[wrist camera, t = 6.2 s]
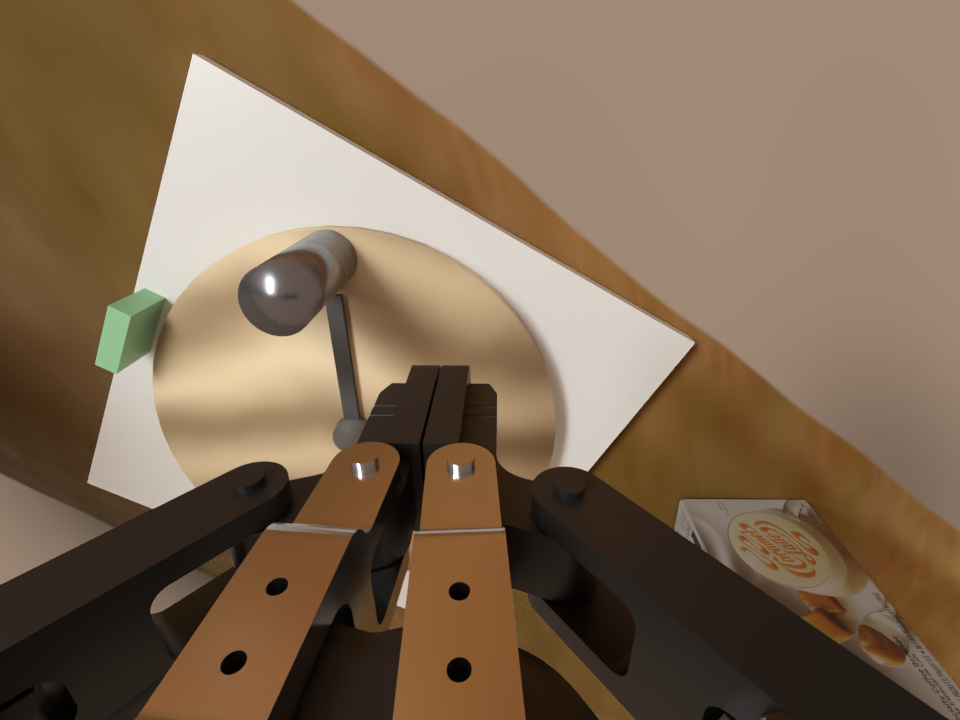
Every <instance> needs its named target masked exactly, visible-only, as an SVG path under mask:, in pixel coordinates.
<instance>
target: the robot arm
mask: <svg viewBox="0 0 960 720" xmlns="http://www.w3.org/2000/svg"><path fill="white" fill-rule="evenodd" d="M374 405H375V406H374V407H373V409H372V411H371V413H370V416H369V418H368V420H367V422H366V424H365V427H364V429H363V431H362V433H361V435H360V438H359V440H358V442H357V444H355V445H352V446H350V447H347V448H345V449H344V450H342V451H341V452H339V453H338V454H337V455H336V456H335V457H334V458H333V460H332V461H331V463H330V464H329V466H328V468H327V469H326V471H325V472H324V473H322V474H318V475H313V476H308V477H303V478H298V479H293V480H289V475H288V472H287V470H286V468H285V467H284V466H282V465H281V464H278V463H275V462H269V461H261V462H253V463H249V464H245V465H242V466H239V467H237V468H235V469H232V470H230V471H228V472H226V473H224V474H222V475H220V476H218V477H216V478H214V479H212V480H210V481H208V482H206V483H204V484H202V485H200V486H198V487H196V488H194V489H192V490H190V491H188V492H186V493H184V494H182V495H180V496H178V497H176V498H174V499H172V500H170V501H168V502H166V503H164V504H162V505H160V506H158V507H156V508H154V509H152V510H150V511H148V512H146V513H144V514H142V515H140V516H138V517H136V518H134V519H132V520H130V521H128V522H126V523H124V524H122V525H120V526H118V527H116V528H114V529H112V530H110V531H108V532H106V533H104V534H102V535H100V536H98V537H96V538H94V539H92V540H90V541H88V542H86V543H84V544H82V545H80V546H78V547H76V548H74V549H72V550H70V551H68V552H66V553H64V554H62V555H60V556H58V557H56V558H54V559H52V560H50V561H48V562H46V563H44V564H42V565H40V566H38V567H36V568H34V569H32V570H29V571H27V572H26V573H23V574H21V575H20V576H17V577H15V578H13V579H11V580H10V581H7V582H6V583H3V584H1V585H0V720H599V719H598V718H597V717H596V715H595V714H594V713H593V712H592V710H591V709H590V708H589V707H588V705H587V704H586V703H585V702H584V701H583V699H582V698H581V697H580V696H579V694H578V693H577V692H576V691H575V690H574V688H573V687H572V686H571V685H570V684H569V683H568V682H567V681H566V680H565V679H564V678H563V677H562V676H561V675H560V674H559V673H558V672H557V671H556V670H554V669H553V668H552V667H550V666H549V665H548V664H546V663H545V662H544V661H542V660H541V659H539V658H537V657H536V656H534V655H532V654H531V653H529V652H527V651H525V650H523V649H520V648H518V644H517V635H516V626H515V616H514V607H513V598H512V588H514V589H517V590H520V591H523V592H526V593H528V599H529V602H530V604H531V605H532V607H533V608H534V610H535V611H536V612H537V613H538V614H539V615H540V616H541V617H542V619H543V620H544V621H545V622H546V623H547V624H548V625H549V626H550V627H551V628H552V629H553V630H554V631H555V633H556V634H557V635H558V636H559V637H560V638H561V639H562V640H563V641H564V642H565V643H566V644H567V646H568V647H569V648H570V649H571V650H572V651H573V652H574V653H575V654H576V655H577V656H578V657H579V659H580V660H581V661H582V662H583V663H584V664H585V665H586V666H587V667H588V668H589V669H590V670H591V672H592V673H593V674H594V675H595V676H596V677H597V678H598V679H599V680H600V681H601V682H602V683H603V685H604V686H605V687H606V688H607V689H608V690H609V691H610V692H611V693H612V694H613V695H614V696H615V697H616V699H617V700H618V701H619V702H620V703H621V704H622V705H623V706H624V707H625V708H626V709H627V710H628V712H629V713H630V714H631V715H632V716H633V717H634V718H635V719H636V720H949V719H948V718H946V717H945V716H943V715H942V714H940V713H939V712H937V711H936V710H935V709H933V708H932V707H930V706H929V705H927V704H926V703H924V702H923V701H921V700H920V699H919V698H917V697H916V696H914V695H913V694H911V693H910V692H908V691H907V690H905V689H904V688H903V687H901V686H900V685H898V684H897V683H895V682H894V681H892V680H891V679H890V678H888V677H887V676H885V675H884V674H882V673H881V672H879V671H878V670H876V669H875V668H874V667H872V666H871V665H869V664H868V663H866V662H865V661H863V660H862V659H860V658H859V657H858V656H856V655H855V654H853V653H852V652H850V651H849V650H847V649H846V648H844V647H843V646H842V645H840V644H839V643H837V642H836V641H834V640H833V639H831V638H830V637H829V636H827V635H826V634H824V633H823V632H821V631H820V630H818V629H817V628H815V627H814V626H813V625H811V624H810V623H808V622H807V621H805V620H804V619H802V618H801V617H799V616H798V615H797V614H795V613H794V612H792V611H791V610H789V609H788V608H786V607H785V606H783V605H782V604H781V603H779V602H778V601H776V600H775V599H773V598H772V597H770V596H769V595H768V594H766V593H765V592H763V591H762V590H760V589H759V588H757V587H756V586H754V585H753V584H752V583H750V582H749V581H747V580H746V579H744V578H743V577H741V576H740V575H738V574H737V573H736V572H734V571H733V570H731V569H730V568H728V567H727V566H725V565H724V564H722V563H721V562H720V561H718V560H717V559H715V558H714V557H712V556H711V555H709V554H708V553H707V552H705V551H704V550H702V549H701V548H699V547H698V546H696V545H695V544H693V543H692V542H691V541H689V540H688V539H686V538H685V537H683V536H682V535H680V534H679V533H677V532H676V531H675V530H673V529H672V528H670V527H669V526H667V525H666V524H664V523H663V522H662V521H660V520H659V519H657V518H656V517H654V516H653V515H651V514H650V513H648V512H647V511H646V510H644V509H643V508H641V507H640V506H638V505H637V504H635V503H634V502H632V501H631V500H630V499H628V498H627V497H625V496H624V495H622V494H621V493H619V492H618V491H616V490H615V489H614V488H612V487H611V486H609V485H608V484H606V483H605V482H603V481H602V480H601V479H599V478H598V477H596V476H595V475H593V474H591V473H590V472H587V471H585V470H582V469H579V468H574V467H554V468H550V469H547V470H545V471H543V472H541V473H540V474H538V475H537V476H536V478H535V479H534V480H529V479H525V478H522V477H518V476H516V475H514V474H512V473H510V472H508V471H507V470H506V469H504V468H503V467H502V466H501V465H500V463H499V462H498V460H497V393H496V392H495V390H494V389H493V388H492V387H491V385H490V384H473V383H471V374H470V365H442V367H441V366H440V365H412V367H411V370H410V372H409V375H408V378H407V380H406V383H391V384H390V385H389V386H388V387H386V388H385V389H384V390H383V391H381V392H380V393H379V395H378V398H377V400H376V402H375V404H374ZM413 531H415V533H414V538H413V546H412V554H411V563H410V572H409V581H408V589H407V598H406V607H405V615H404V624H403V627H401V628H396V629H392V630H389V628H390V624H391V621H392V618H393V615H394V611H395V608H396V605H397V601H398V598H399V595H400V592H401V588H402V585H403V582H404V578H405V575H406V572H407V568H408V565H409V561H410V551H409V546H410V543H411V539H412V534H413ZM227 549H228V552H229V555H230V558H231V561H232V564H233V567H232V568H230V569H229V570H227V571H226V572H224V573H222V574H221V575H219V576H218V577H216V578H214V579H213V580H211V581H210V582H208V583H207V584H205V585H203V586H202V587H200V588H199V589H197V590H196V591H194V592H193V593H191V594H189V595H188V596H186V597H185V598H183V599H181V600H180V601H178V602H177V603H175V604H173V605H172V606H170V607H169V608H167V609H165V610H164V611H162V612H159V613H155V614H150V608H151V605H152V602H153V600H154V599H155V597H156V596H157V594H159V592H160V591H161V590H163V589H164V588H165V587H166V586H168V585H170V584H171V583H173V582H175V581H176V580H178V579H179V578H181V577H183V576H184V575H186V574H188V573H189V572H191V571H192V570H194V569H196V568H198V567H199V566H201V565H203V564H204V563H206V562H208V561H209V560H211V559H213V558H214V557H216V556H218V555H219V554H221V553H222V552H224V551H226V550H227Z"/></svg>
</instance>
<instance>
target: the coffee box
mask: <svg viewBox="0 0 960 720" xmlns="http://www.w3.org/2000/svg"><path fill="white" fill-rule="evenodd" d="M674 530H675V531H676V532H677V533H679V534H680V535H682V536H683V537H685V538H686V539H688V540H689V541H691V542H692V543H693V544H695V545H696V546H698V547H699V548H701V549H702V550H704V551H705V552H707V553H708V554H709V555H711V556H712V557H714V558H715V559H717V560H718V561H720V562H721V563H722V564H724V565H725V566H727V567H728V568H730V569H731V570H733V571H734V572H736V573H737V574H738V575H740V576H741V577H743V578H744V579H746V580H747V581H749V582H750V583H752V584H753V585H754V586H756V587H757V588H759V589H760V590H762V591H763V592H765V593H766V594H768V595H769V596H770V597H772V598H773V599H775V600H776V601H778V602H779V603H781V604H782V605H783V606H785V607H786V608H788V609H789V610H791V611H792V612H794V613H795V614H797V615H798V616H799V617H801V618H802V619H804V620H805V621H807V622H808V623H810V624H811V625H813V626H814V627H815V628H817V629H818V630H820V631H821V632H823V633H824V634H826V635H827V636H829V637H830V638H831V639H833V640H834V641H836V642H837V643H839V644H840V645H842V646H843V647H844V648H846V649H847V650H849V651H850V652H852V653H853V654H855V655H856V656H858V657H859V658H860V659H862V660H863V661H865V662H866V663H868V664H869V665H871V666H872V667H874V668H875V669H876V670H878V671H879V672H881V673H882V674H884V675H885V676H887V677H888V678H890V679H891V680H892V681H894V682H895V683H897V684H898V685H900V686H901V687H903V688H904V689H905V690H907V691H908V692H910V693H911V694H913V695H914V696H916V697H917V698H919V699H920V700H921V701H923V702H924V703H926V704H927V705H929V706H930V707H932V708H933V709H935V710H936V711H937V712H939V713H940V714H942V715H943V716H945V717H946V718H948V719H949V720H960V688H959V686H958V685H957V684H956V683H955V681H954V680H953V679H952V678H951V677H950V675H949V674H948V673H947V672H946V671H945V669H944V668H943V667H942V666H941V665H940V663H939V662H938V661H937V660H936V659H935V657H934V656H933V655H932V654H931V652H930V651H929V650H928V649H927V647H926V646H925V645H924V644H923V643H922V642H921V640H920V639H919V638H918V637H917V635H916V634H915V633H914V632H913V630H912V629H911V628H910V627H909V625H908V624H907V623H906V622H905V621H904V619H903V618H902V617H901V616H900V614H899V613H898V612H897V611H896V609H895V608H894V607H893V606H892V605H891V604H890V602H889V601H888V600H887V598H886V597H885V596H884V595H883V594H882V593H881V591H880V590H879V589H878V588H877V586H876V585H875V584H874V583H873V581H872V580H871V579H870V578H869V577H868V575H867V574H866V573H865V572H864V570H863V569H862V568H861V567H860V566H859V564H858V563H857V562H856V561H855V560H854V558H853V557H852V556H851V555H850V553H849V552H848V551H847V550H846V548H845V547H844V546H843V545H842V544H841V542H840V541H839V540H838V539H837V538H836V536H835V535H834V534H833V533H832V532H831V530H830V529H829V528H828V527H827V526H826V524H825V523H824V522H823V521H822V519H821V518H820V517H819V516H818V514H817V513H816V512H815V511H814V510H813V508H812V507H811V506H810V505H809V504H808V502H807V501H806V500H768V499H681V500H680V502H679V507H678V512H677V517H676V523H675V528H674Z"/></svg>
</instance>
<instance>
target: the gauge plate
mask: <svg viewBox="0 0 960 720" xmlns="http://www.w3.org/2000/svg"><path fill="white" fill-rule="evenodd" d="M318 226H348V227H362V228H368V229H373V230H378V231H383V232H389V233H393V234H396V235H399V236H402V237H405V238H408V239H411V240H414V241H417V242H420V243H423V244H425V245H427V246H429V247H431V248H433V249H435V250H438V251H440V252H442V253H444V254H446V255H448V256H450V257H451V258H453V259H454V260H456V261H458V262H459V263H461V264H462V265H464V266H465V267H467V268H469V269H470V270H472V271H473V272H475V273H476V274H477V275H478V276H479V277H481V278H482V279H483V280H484V281H485V282H487V283H488V284H489V285H490V286H491V287H493V288H494V289H495V290H496V291H497V292H498V293H499V294H500V295H501V296H502V297H503V298H504V300H505V301H506V302H507V303H508V304H509V305H510V306H511V307H512V308H513V309H514V310H515V312H516V313H517V315H518V316H519V317H520V319H521V320H522V322H523V323H524V325H525V326H526V327H527V329H528V330H529V332H530V333H531V335H532V337H533V339H534V341H535V343H536V345H537V347H538V349H539V351H540V353H541V355H542V357H543V360H544V363H545V366H546V369H547V372H548V375H549V378H550V383H551V389H552V394H553V400H554V406H555V424H556V434H555V441H554V448H553V455H552V458H551V461H550V464H549V468H548V469H550V468H554V467H574V468H579V469H582V470H585V471H587V472H588V471H589V470H590V468H591V467H592V466H593V465H594V464H595V462H596V461H597V460H598V459H599V458H600V456H601V455H602V454H603V453H604V452H605V450H606V449H607V448H608V447H609V446H610V444H611V443H612V442H613V441H614V440H615V438H616V437H617V436H618V435H619V434H620V432H621V431H622V430H623V429H624V428H625V426H626V425H627V424H628V423H629V422H630V420H631V419H632V418H633V417H634V416H635V414H636V413H637V412H638V411H639V410H640V408H641V407H642V406H643V405H644V404H645V402H646V401H647V400H648V399H649V398H650V396H651V395H652V394H653V393H654V392H655V391H656V389H657V388H658V387H659V386H660V385H661V383H662V382H663V381H664V380H665V379H666V377H667V376H668V375H669V374H670V373H671V371H672V370H673V369H674V368H675V367H676V365H677V364H678V363H679V362H680V361H681V359H682V358H683V357H684V356H685V355H686V353H687V352H688V351H689V350H690V349H691V347H692V346H693V345H694V344H695V342H694V341H693V340H692V339H691V338H690V336H688V335H686V334H685V333H683V332H681V331H680V330H678V329H676V328H674V327H673V326H671V325H669V324H667V323H666V322H664V321H662V320H660V319H659V318H657V317H655V316H654V315H652V314H650V313H648V312H647V311H645V310H643V309H641V308H640V307H638V306H636V305H635V304H633V303H631V302H629V301H628V300H626V299H624V298H622V297H621V296H619V295H617V294H615V293H614V292H612V291H610V290H609V289H607V288H605V287H603V286H602V285H600V284H598V283H596V282H595V281H593V280H591V279H590V278H588V277H586V276H584V275H583V274H581V273H579V272H577V271H576V270H574V269H572V268H570V267H569V266H567V265H565V264H564V263H562V262H560V261H558V260H557V259H555V258H553V257H551V256H550V255H548V254H546V253H545V252H543V251H541V250H539V249H538V248H536V247H534V246H532V245H531V244H529V243H527V242H525V241H524V240H522V239H520V238H519V237H517V236H515V235H513V234H512V233H510V232H508V231H506V230H505V229H503V228H501V227H500V226H498V225H496V224H494V223H493V222H491V221H489V220H487V219H486V218H484V217H482V216H480V215H479V214H477V213H475V212H474V211H472V210H470V209H468V208H467V207H465V206H463V205H461V204H460V203H458V202H456V201H455V200H453V199H451V198H449V197H448V196H446V195H444V194H442V193H441V192H439V191H437V190H435V189H434V188H432V187H430V186H429V185H427V184H425V183H423V182H422V181H420V180H418V179H416V178H415V177H413V176H411V175H410V174H408V173H406V172H404V171H403V170H401V169H399V168H397V167H396V166H394V165H392V164H390V163H389V162H387V161H385V160H384V159H382V158H380V157H378V156H377V155H375V154H373V153H371V152H370V151H368V150H366V149H365V148H363V147H361V146H359V145H358V144H356V143H354V142H352V141H351V140H349V139H347V138H345V137H344V136H342V135H340V134H339V133H337V132H335V131H333V130H332V129H330V128H328V127H326V126H325V125H323V124H321V123H320V122H318V121H316V120H314V119H313V118H311V117H309V116H307V115H306V114H304V113H302V112H300V111H299V110H297V109H295V108H294V107H292V106H290V105H288V104H287V103H285V102H283V101H281V100H280V99H278V98H276V97H275V96H273V95H271V94H269V93H268V92H266V91H264V90H262V89H261V88H259V87H257V86H255V85H254V84H252V83H250V82H249V81H247V80H245V79H243V78H242V77H240V76H238V75H236V74H235V73H233V72H231V71H230V70H228V69H226V68H224V67H223V66H221V65H219V64H217V63H216V62H214V61H212V60H210V59H209V58H207V57H205V56H202V55H197V54H193V55H192V60H191V64H190V68H189V72H188V76H187V80H186V84H185V88H184V92H183V96H182V100H181V104H180V108H179V112H178V116H177V120H176V124H175V128H174V133H173V137H172V141H171V145H170V149H169V153H168V157H167V161H166V165H165V169H164V173H163V177H162V181H161V185H160V189H159V193H158V197H157V202H156V206H155V210H154V214H153V218H152V222H151V226H150V230H149V234H148V238H147V242H146V246H145V250H144V254H143V258H142V262H141V266H140V270H139V275H138V279H137V283H136V287H135V291H134V293H133V294H131V295H129V296H127V297H125V298H123V299H121V300H119V301H117V302H115V303H113V304H110V305H108V308H107V312H106V317H105V321H104V326H103V330H102V335H101V339H100V344H99V348H98V353H97V357H96V361H95V365H97V366H99V367H102V368H104V369H106V370H108V371H111V372H113V373H114V376H113V380H112V384H111V388H110V392H109V396H108V400H107V404H106V408H105V412H104V417H103V421H102V425H101V429H100V433H99V437H98V441H97V445H96V449H95V453H94V457H93V461H92V465H91V469H90V473H89V477H88V481H87V483H88V484H91V485H94V486H96V487H99V488H101V489H104V490H106V491H109V492H111V493H114V494H116V495H119V496H121V497H124V498H126V499H129V500H131V501H134V502H137V503H139V504H142V505H144V506H147V507H149V508H152V509H154V508H156V507H158V506H160V505H162V504H164V503H166V502H168V501H170V500H172V499H174V498H176V497H178V496H180V495H182V494H184V493H186V492H188V491H190V490H192V489H194V488H195V486H194V485H193V484H192V483H191V481H190V480H189V479H188V477H187V476H186V475H185V473H184V472H183V471H182V469H181V467H180V466H179V464H178V462H177V461H176V459H175V457H174V456H173V454H172V452H171V450H170V448H169V446H168V444H167V441H166V439H165V437H164V434H163V432H162V430H161V426H160V423H159V419H158V415H157V412H156V408H155V401H154V393H153V386H152V385H153V361H154V355H155V350H156V345H157V340H158V337H159V335H160V332H161V329H162V327H163V324H164V322H165V319H166V317H167V315H168V314H169V312H170V310H171V309H172V307H173V305H174V304H175V302H176V300H177V299H178V297H179V296H180V295H181V294H182V292H183V291H184V290H185V289H186V288H187V287H188V285H189V284H190V283H191V282H192V281H193V280H194V279H195V278H196V277H197V276H198V275H199V274H201V273H202V272H203V271H204V270H206V269H207V268H208V267H209V266H210V265H212V264H213V263H214V262H216V261H217V260H219V259H221V258H222V257H224V256H226V255H228V254H229V253H231V252H233V251H235V250H236V249H238V248H240V247H242V246H244V245H246V244H248V243H251V242H254V241H256V240H259V239H261V238H264V237H267V236H269V235H272V234H276V233H280V232H285V231H289V230H294V229H298V228H305V227H318ZM409 572H410V570H409V571H407V572H406V575H405V578H404V582H403V585H402V588H401V592H400V595H399V598H398V601H397V606H400V607H402V608H405V607H406V598H407V589H408V581H409Z"/></svg>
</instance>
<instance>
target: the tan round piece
mask: <svg viewBox="0 0 960 720" xmlns="http://www.w3.org/2000/svg"><path fill="white" fill-rule="evenodd" d="M412 365H440V366H441V367H442V365H470V374H471V383H473V384H490V385H491V387H492V388H493V389H494V390H495V392H496V393H497V460H498V462H499V463H500V465H501V466H502V467H503V468H504V469H506V470H507V471H508V472H510V473H512V474H514V475H516V476H518V477H522V478H525V479H529V480H534V479H535V478H536V476H537V475H538V474H540V473H541V472H543V471H545V470H547V469H548V468H549V464H550V461H551V458H552V455H553V448H554V441H555V434H556V424H555V406H554V400H553V394H552V389H551V383H550V378H549V375H548V372H547V369H546V366H545V363H544V360H543V357H542V355H541V353H540V351H539V349H538V347H537V345H536V343H535V341H534V339H533V337H532V335H531V333H530V332H529V330H528V329H527V327H526V326H525V325H524V323H523V322H522V320H521V319H520V317H519V316H518V315H517V313H516V312H515V310H514V309H513V308H512V307H511V306H510V305H509V304H508V303H507V302H506V301H505V300H504V298H503V297H502V296H501V295H500V294H499V293H498V292H497V291H496V290H495V289H494V288H493V287H491V286H490V285H489V284H488V283H487V282H485V281H484V280H483V279H482V278H481V277H479V276H478V275H477V274H476V273H475V272H473V271H472V270H470V269H469V268H467V267H465V266H464V265H462V264H461V263H459V262H458V261H456V260H454V259H453V258H451V257H450V256H448V255H446V254H444V253H442V252H440V251H438V250H435V249H433V248H431V247H429V246H427V245H425V244H423V243H420V242H417V241H414V240H411V239H408V238H405V237H402V236H399V235H396V234H393V233H389V232H383V231H378V230H373V229H368V228H362V227H348V226H318V227H305V228H298V229H294V230H289V231H285V232H280V233H276V234H272V235H269V236H267V237H264V238H261V239H259V240H256V241H254V242H251V243H248V244H246V245H244V246H242V247H240V248H238V249H236V250H235V251H233V252H231V253H229V254H228V255H226V256H224V257H222V258H221V259H219V260H217V261H216V262H214V263H213V264H212V265H210V266H209V267H208V268H207V269H206V270H204V271H203V272H202V273H201V274H199V275H198V276H197V277H196V278H195V279H194V280H193V281H192V282H191V283H190V284H189V285H188V287H187V288H186V289H185V290H184V291H183V292H182V294H181V295H180V296H179V297H178V299H177V300H176V302H175V304H174V305H173V307H172V309H171V310H170V312H169V314H168V315H167V317H166V319H165V322H164V324H163V327H162V329H161V332H160V335H159V337H158V340H157V345H156V350H155V355H154V361H153V385H152V386H153V393H154V401H155V408H156V412H157V415H158V419H159V423H160V426H161V430H162V432H163V434H164V437H165V439H166V441H167V444H168V446H169V448H170V450H171V452H172V454H173V456H174V457H175V459H176V461H177V462H178V464H179V466H180V467H181V469H182V471H183V472H184V473H185V475H186V476H187V477H188V479H189V480H190V481H191V483H192V484H193V485H194V486H195V488H196V487H198V486H200V485H202V484H204V483H206V482H208V481H210V480H212V479H214V478H216V477H218V476H220V475H222V474H224V473H226V472H228V471H230V470H232V469H235V468H237V467H239V466H242V465H245V464H249V463H253V462H261V461H269V462H275V463H278V464H281V465H282V466H284V467H285V468H286V470H287V472H288V475H289V480H293V479H298V478H303V477H308V476H313V475H318V474H322V473H324V472H325V471H326V469H327V468H328V466H329V464H330V463H331V461H332V460H333V458H334V457H335V456H336V455H337V454H338V453H339V452H341V451H342V450H344V449H345V448H347V447H350V446H352V445H355V444H357V442H358V440H359V438H360V435H361V433H362V431H363V429H364V427H365V424H366V422H367V420H368V418H369V416H370V413H371V411H372V409H373V407H374V406H375V405H374V404H375V402H376V400H377V398H378V395H379V393H380V392H381V391H383V390H384V389H385V388H386V387H388V386H389V385H390V384H391V383H406V380H407V378H408V375H409V372H410V370H411V367H412ZM414 533H415V531H413V534H412V539H411V543H410V546H409V551H410V561H409V565H408V568H407V571H409V570H410V563H411V554H412V546H413V538H414Z"/></svg>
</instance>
